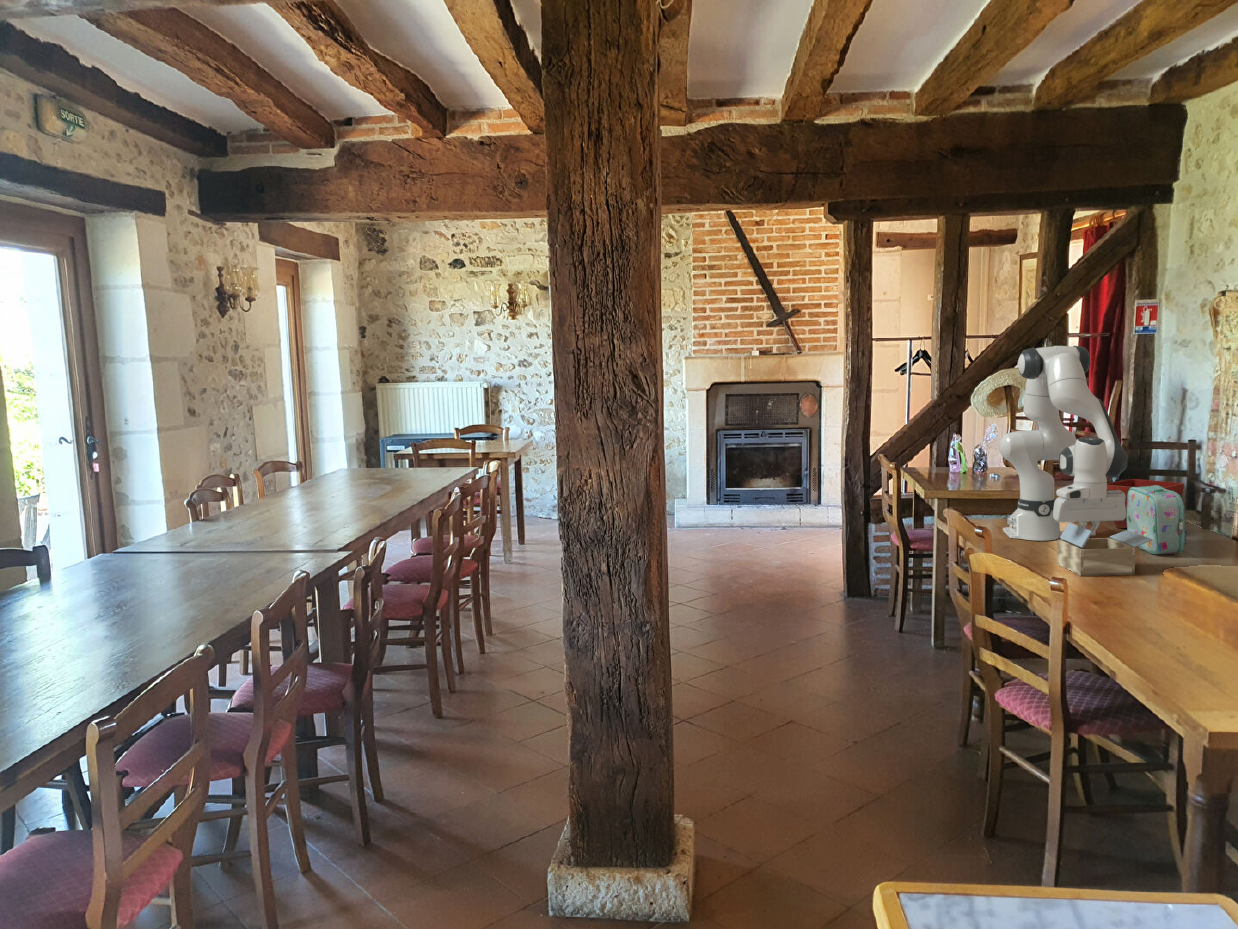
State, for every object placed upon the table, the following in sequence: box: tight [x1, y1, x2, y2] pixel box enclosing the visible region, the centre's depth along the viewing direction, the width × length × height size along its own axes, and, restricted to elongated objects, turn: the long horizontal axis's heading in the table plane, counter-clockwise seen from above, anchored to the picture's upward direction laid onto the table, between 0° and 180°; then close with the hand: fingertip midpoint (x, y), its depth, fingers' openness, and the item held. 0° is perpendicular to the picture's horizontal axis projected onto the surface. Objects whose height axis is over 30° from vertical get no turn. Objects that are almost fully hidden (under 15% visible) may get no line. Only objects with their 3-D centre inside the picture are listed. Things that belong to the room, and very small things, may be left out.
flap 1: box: [1059, 522, 1092, 548], centre depth 253 cm, size 14×1×6 cm, turn 177°
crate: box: [1056, 537, 1136, 577], centre depth 254 cm, size 15×16×8 cm
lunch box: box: [1126, 485, 1187, 555], centre depth 274 cm, size 27×10×21 cm, turn 168°
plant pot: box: [1107, 478, 1185, 529], centre depth 306 cm, size 19×19×17 cm
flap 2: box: [1109, 529, 1153, 548], centre depth 253 cm, size 14×1×6 cm
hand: (1089, 535), depth 253 cm, fingers closed
